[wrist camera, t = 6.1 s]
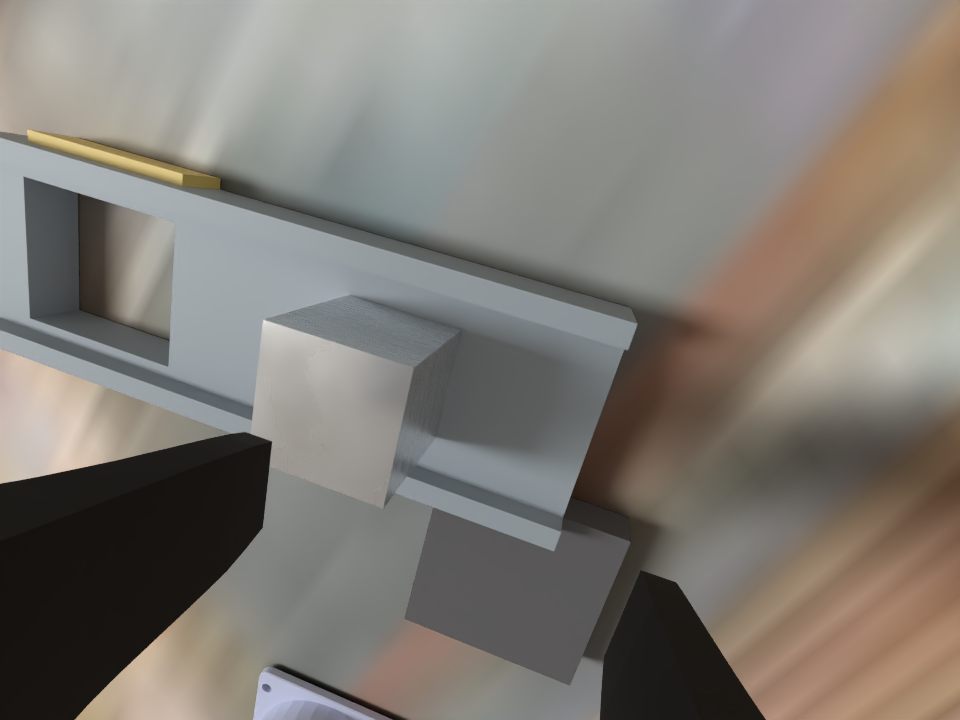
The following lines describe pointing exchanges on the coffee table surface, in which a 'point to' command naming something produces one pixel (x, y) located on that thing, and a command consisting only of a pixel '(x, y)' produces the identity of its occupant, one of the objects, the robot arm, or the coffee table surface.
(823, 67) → the coffee table surface
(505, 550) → the pad
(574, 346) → the rail
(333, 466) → the block
